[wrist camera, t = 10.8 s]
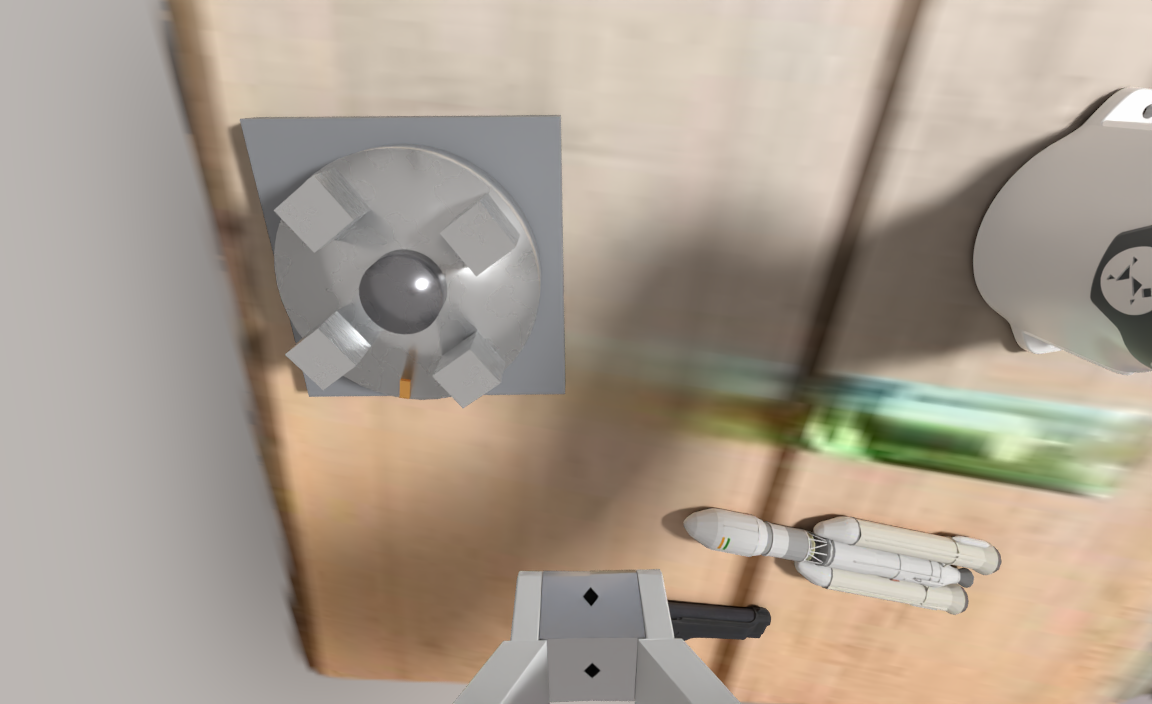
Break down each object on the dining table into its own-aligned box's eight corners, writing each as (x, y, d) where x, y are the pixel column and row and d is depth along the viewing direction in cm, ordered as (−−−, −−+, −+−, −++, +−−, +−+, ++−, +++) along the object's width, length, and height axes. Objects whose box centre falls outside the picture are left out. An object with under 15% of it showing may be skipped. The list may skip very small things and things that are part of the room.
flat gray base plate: (560, 115, 36) (560, 116, 34) (565, 381, 45) (564, 395, 43) (256, 117, 36) (238, 119, 34) (319, 384, 45) (308, 397, 43)
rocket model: (959, 627, 54) (670, 575, 50) (936, 596, 57) (663, 544, 53) (1015, 560, 50) (707, 497, 46) (987, 530, 53) (697, 469, 49)
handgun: (735, 706, 61) (777, 623, 54) (542, 695, 58) (563, 607, 52) (726, 676, 64) (765, 594, 57) (542, 665, 61) (562, 578, 55)
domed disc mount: (287, 122, 34) (233, 129, 29) (557, 167, 36) (555, 181, 30) (302, 363, 42) (262, 404, 36) (526, 393, 43) (519, 437, 37)
